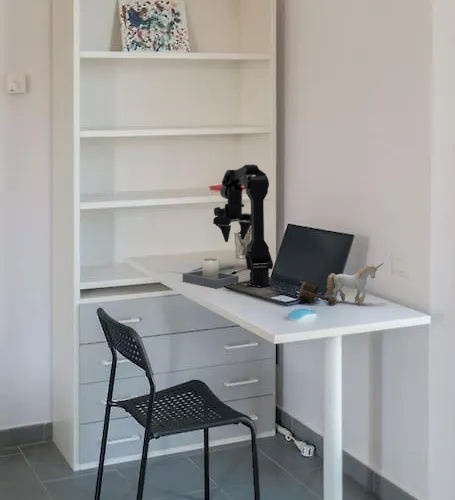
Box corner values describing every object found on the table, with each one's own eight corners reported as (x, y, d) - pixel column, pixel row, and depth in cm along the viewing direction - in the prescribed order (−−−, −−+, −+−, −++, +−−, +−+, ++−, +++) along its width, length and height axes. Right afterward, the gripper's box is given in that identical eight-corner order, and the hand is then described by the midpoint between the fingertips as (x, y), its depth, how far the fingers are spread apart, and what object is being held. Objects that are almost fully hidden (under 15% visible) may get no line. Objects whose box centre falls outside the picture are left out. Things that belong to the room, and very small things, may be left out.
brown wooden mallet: (308, 282, 305) (291, 280, 297) (340, 283, 297) (324, 281, 289) (306, 303, 304) (290, 302, 297) (338, 305, 296) (322, 304, 289)
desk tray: (238, 283, 327) (238, 275, 327) (216, 288, 319) (216, 280, 319) (204, 277, 339) (204, 269, 339) (182, 281, 331) (182, 273, 331)
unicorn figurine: (384, 306, 293) (385, 266, 291) (324, 304, 295) (325, 265, 293) (382, 301, 300) (383, 262, 298) (324, 299, 302) (325, 261, 300)
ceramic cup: (221, 281, 329) (221, 259, 328) (210, 283, 325) (210, 261, 324) (210, 278, 333) (210, 257, 332) (198, 281, 329) (198, 259, 328)
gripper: (236, 198, 360) (235, 236, 363) (203, 201, 347) (203, 241, 350) (256, 200, 353) (256, 239, 355) (223, 204, 339) (223, 244, 342)
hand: (234, 240), depth 351 cm, fingers open, 9 cm apart
